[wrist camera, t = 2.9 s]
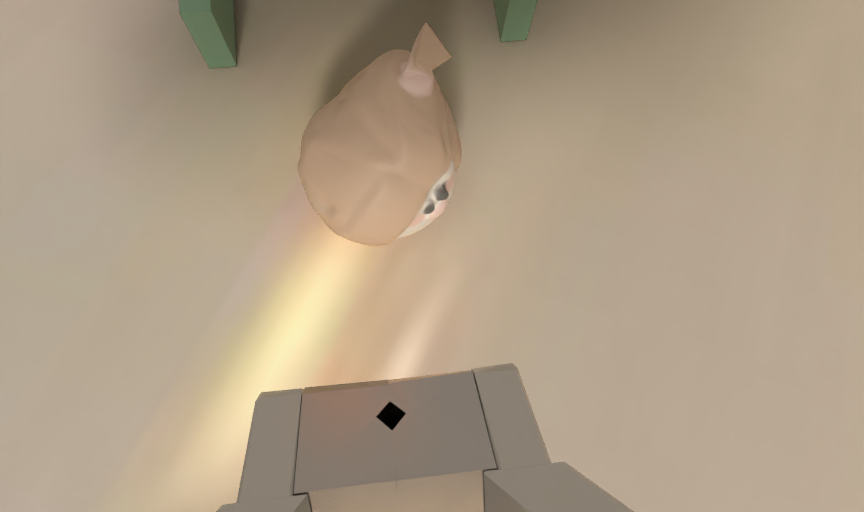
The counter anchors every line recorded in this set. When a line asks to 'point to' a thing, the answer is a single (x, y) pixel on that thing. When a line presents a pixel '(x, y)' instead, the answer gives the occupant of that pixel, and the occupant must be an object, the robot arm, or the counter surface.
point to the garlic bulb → (384, 148)
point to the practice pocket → (215, 26)
